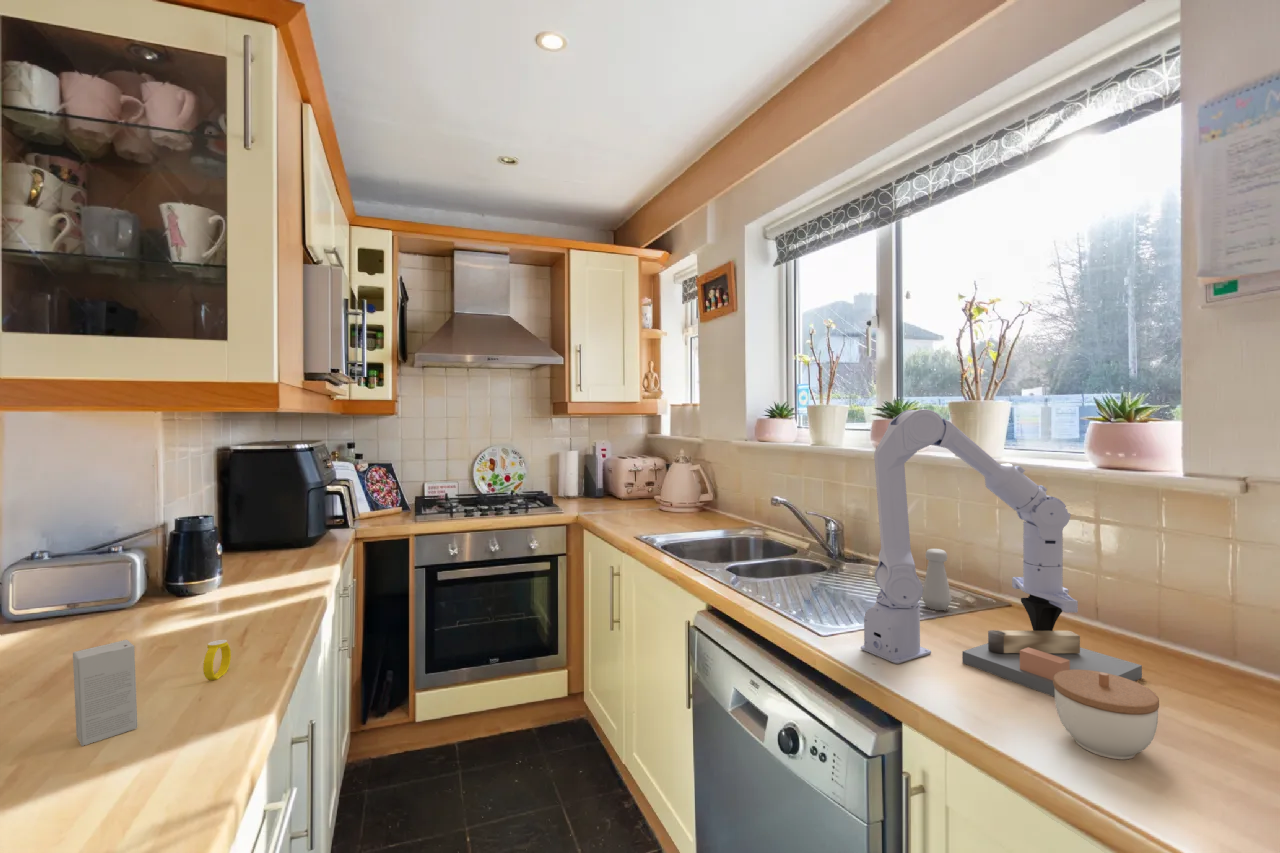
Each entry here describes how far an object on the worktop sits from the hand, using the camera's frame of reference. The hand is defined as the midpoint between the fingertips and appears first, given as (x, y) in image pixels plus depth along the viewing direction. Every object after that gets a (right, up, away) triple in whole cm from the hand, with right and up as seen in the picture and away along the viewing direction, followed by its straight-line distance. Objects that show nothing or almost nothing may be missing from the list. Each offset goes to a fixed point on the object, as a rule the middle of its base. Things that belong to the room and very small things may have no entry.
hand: (1042, 640), depth 104 cm
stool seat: (-2, -3, -5) cm, 6 cm away
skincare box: (-145, -6, -21) cm, 147 cm away
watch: (-143, -6, -2) cm, 143 cm away
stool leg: (-3, -1, -2) cm, 4 cm away
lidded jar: (-11, -4, -27) cm, 30 cm away
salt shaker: (-4, -3, +28) cm, 29 cm away
